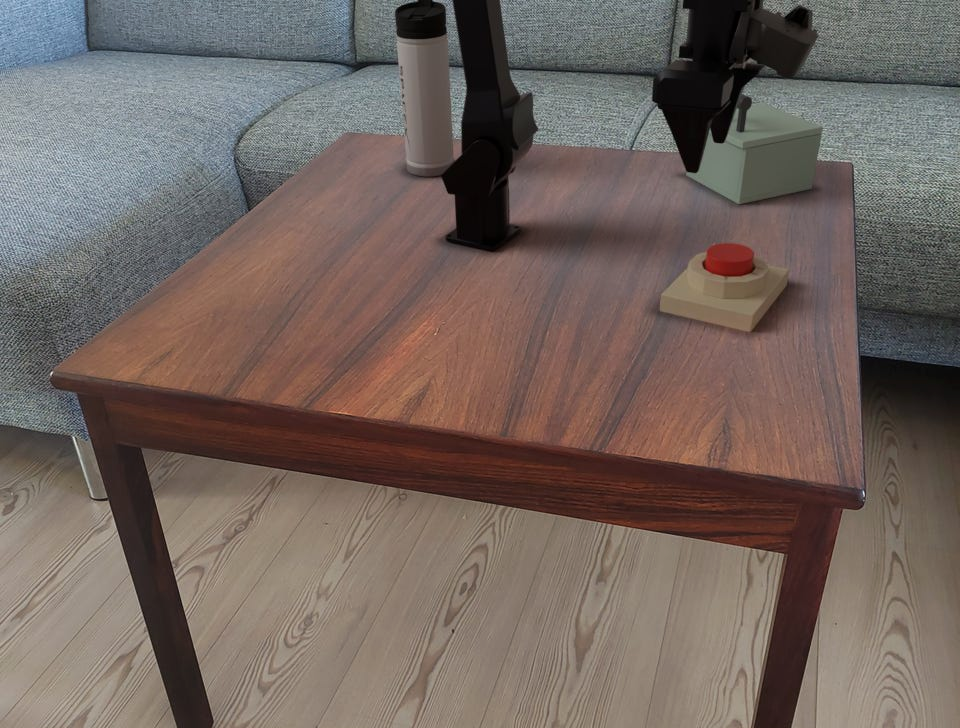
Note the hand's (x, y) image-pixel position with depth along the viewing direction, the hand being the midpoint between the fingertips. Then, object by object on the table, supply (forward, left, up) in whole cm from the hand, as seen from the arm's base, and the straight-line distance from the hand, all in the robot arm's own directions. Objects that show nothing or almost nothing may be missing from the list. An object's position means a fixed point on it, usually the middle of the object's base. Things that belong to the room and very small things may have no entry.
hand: (706, 157), depth 91 cm
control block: (-6, -6, -11) cm, 14 cm away
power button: (-6, -6, -8) cm, 12 cm away
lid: (+25, +3, -5) cm, 26 cm away
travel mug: (+12, +41, -11) cm, 45 cm away
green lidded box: (+25, +3, -11) cm, 28 cm away
